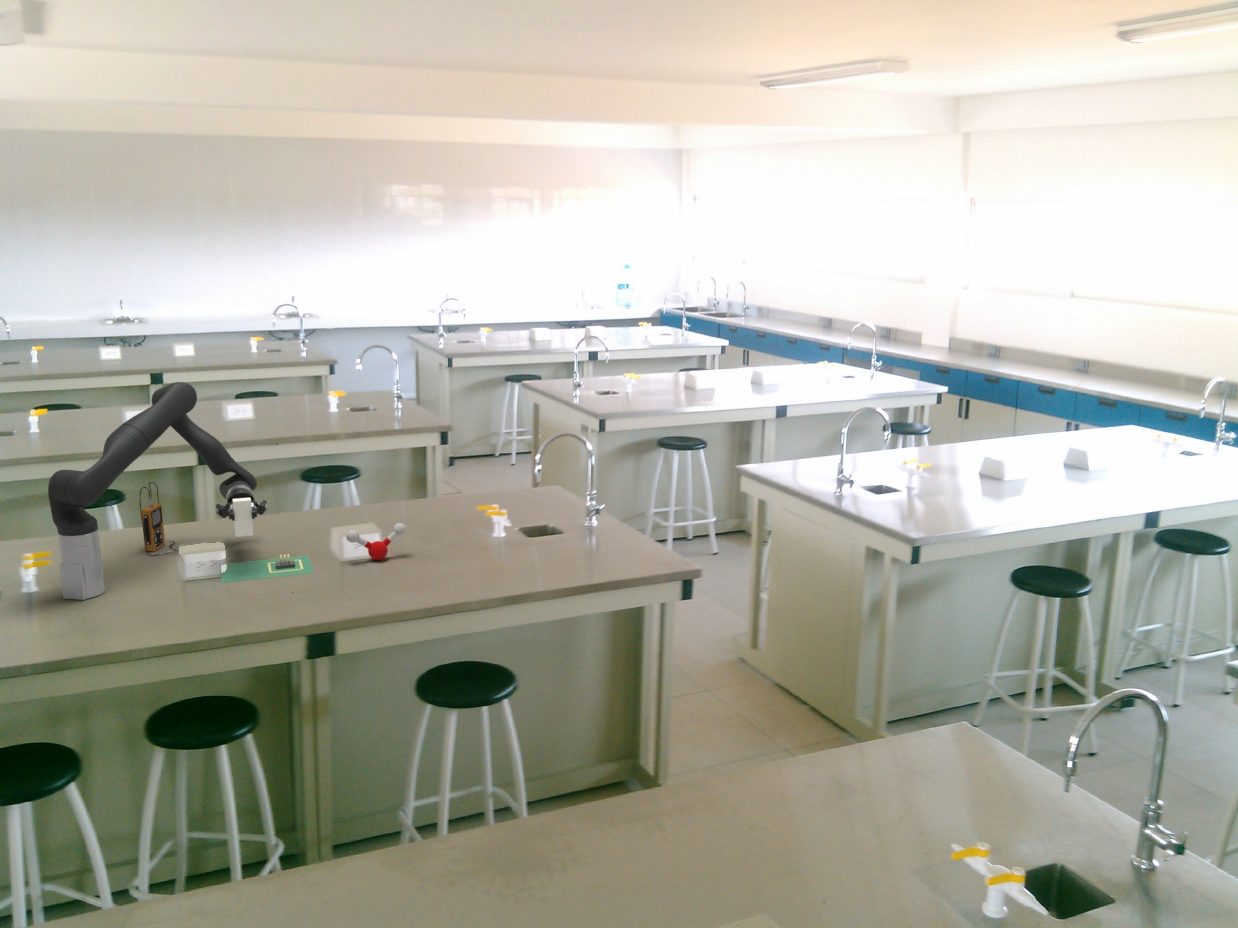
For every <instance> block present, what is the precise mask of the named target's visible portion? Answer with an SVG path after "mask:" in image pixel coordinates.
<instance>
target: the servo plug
mask: <svg viewBox="0 0 1238 928" xmlns="http://www.w3.org/2000/svg"><path fill="white" fill-rule="evenodd" d="M233 511H234V516H235V521H233V523H234V524H233V525H234V534H235V535H234V536H235V537H236V538H237V537H248V536H254V524H253V523H254V522H253V519H252V508H251V498H238V499H233Z"/></svg>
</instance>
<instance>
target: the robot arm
mask: <svg viewBox="0 0 1238 928" xmlns="http://www.w3.org/2000/svg"><path fill="white" fill-rule="evenodd" d="M197 401H198V395H197V391H196V389H195V387H193V385H191V384H189V383H188V382H183V381H178V382H173V383H172V382H171V383H170V384H167V385H164V386H162V387H159V388H158V389H156V390H155V391H154V392H153V393H152V396H151V405H150V406H149V407H148V408H146V409H144V410H143V411H141V412H138V413H137V414H136V415H134V416H132V417H130V418H129V419H127V420H126V421H125V422H122V424H121V425H119V426H118V427H117V428H116V429H115V430H114V431H112V432H111V433H110V434H109V435H108V437H107V438H106V440H105V441H104V445H103V451H102V456H101V457H100V458H99V460H98V461H96V463H95V464H93V465H92V466H91V467H89V468H87V469H86V470H76V469H74V470H73V469H60V470H57V471H55V472H54V473H53V474H52V475H51V477H50V478H49V481H48V485H47V494H48V500H49V501H48V502H49V506H50V512H51V517H52V522H53V525H55V527H56V529H57V530H56V531H57V537H58V545H59V554H60V555H59V556H60V563H59V565H58V566H59V575H60V583H61V591H62V598H63V600H65V599H66V600H81V601H86V600H88V599H91V598H94V597H99V596H100V595H102V594H104V593H105V581H104V573H103V561H102V554H101V553H102V552H101V545H100V534H99V526H98V525H99V524H98V520H97V518H96V517H95V516H94V515H92V514H91V513H89V512H88V511H87V510H86V509H85V508H86V507H91V506H92V505H94V504H95V503H96V502H97V501H99V499H100V498H101V497H102V496H103V495H104V494H105V492H106V491H107V490H108V489H109V488H110V486H112V484H113V483H114V482H115V480H117V478H118V477H120V475H122V473H123V472H125V470H127V468H128V467H129V466H131V464H133V463H134V462H135V461H136V460H137V459H138V458H139V457H141V456H142V455H143V454H144V453H145V452H146V451H147V450H148V449H149V448H150V447H151V446H152V445H153V444H154V443H155V442H157V440H158V439H159V438H160V437H161V436H162V435H163V434H164V433H166V431H167V430H168V429H169V428H170V427H171V428H172V429H173V430H174V431H175V432H176V433H177V434H178V435H179V436H180V437H182V438H183V440H185V441H186V442H187V444H189V445H190V447H191V448H192V449H193V451H195V452H196V453H197V454H198V456H199V457H200V459H201V460H202V461H203V462H204V463H205V465H206V466H207V468H208V469H209V471H211V473H212V474H213V475H215V476H220V475H224V474H227V473H234V474H233V475H231V476H230V477H228V478H227V479H225V480H223V481H222V482H221V483H220V484H219V488H218V489H219V492H220V494H221V496H222V497H223V498H224V500H226V503H225V504H224V505H223V504H220V503H218V504H215V513H216V515H218V516H219V517H221V518H222V519H226V518H227V517H228V520H231V521H232V522H234V521H235V516H234V511H233V499H238V498H251V508H252V520H254V519H256V518H258V515H261V516H262V515H264V514H265V513H266V512H267V510H268V502H267V501H268V500H265V499H264V500H262V501H259V502H257V500H255V494H254V493H253V492H254V491H255V490H256V488H257V485H258V481H257V479H256V477H255V475H253V474H252V473H251V472H250V471H248V470H247V469H246V468H244V467H243V466H242V465H240V464H239V463H238V462H237V461H236V460H235V459H234V458H233V456H232V455H230V453H229V451H228V450H227V449H226V448H225V446H224V445H223V444H222V443H221V441H219V439H217V438H216V437H214V435H212V434H211V433H209V432H208V431H206V430H205V429H202V428H201V427H200V426H199V425H197V424H196V423H195V422H193V420H191V418H190V417H189V416H188V413H190V412H191V411H193V409H195V406H196V405H197Z"/></svg>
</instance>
